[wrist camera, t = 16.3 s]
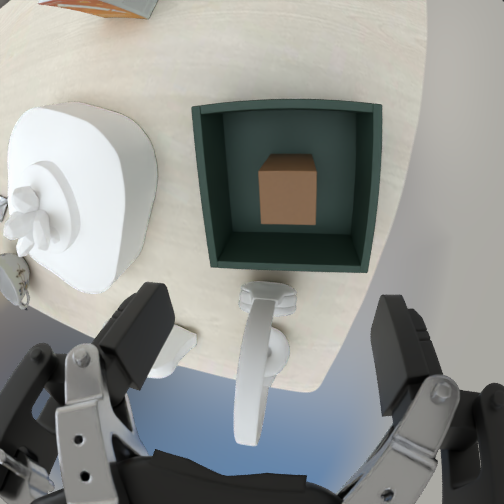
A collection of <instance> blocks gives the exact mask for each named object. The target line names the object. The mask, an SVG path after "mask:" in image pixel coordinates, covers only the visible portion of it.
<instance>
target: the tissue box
mask: <svg viewBox="0 0 504 504" xmlns="http://www.w3.org/2000/svg"><path fill="white" fill-rule="evenodd" d="M157 180H158V170H157V162H156V157H155V153H154V149H153V146H152V144H151V142H150V140H149V138H148V137H147V135H146V134H145V133H144V131H143V130H142V129H141V128H140V127H139V125H138V124H137V123H135V122H134V121H133V120H132V119H130V118H128V117H127V116H125V115H122V114H120V113H117V112H114V111H110V110H107V109H104V108H100V107H97V106H93V105H89V104H86V103H82V102H65V103H58V104H52V105H45V106H40V107H35V108H31V109H29V110H27V111H26V112H25V113H24V114H23V115H22V116H21V117H20V118H19V120H18V122H17V123H16V125H15V127H14V129H13V131H12V134H11V137H10V141H9V146H8V208H9V214H10V217H9V219H8V220H7V221H6V223H5V226H4V234H3V235H4V236H5V237H6V238H8V239H9V240H14V239H19V240H18V243H17V245H16V249H17V253H18V257H22V256H26V255H27V254H29V255H30V256H31V257H32V258H33V259H34V260H35V261H36V262H38V263H39V264H40V265H42V266H43V267H45V268H47V269H48V270H50V271H51V272H53V273H54V274H56V275H57V276H58V277H60V278H61V279H62V280H63V281H65V282H66V283H67V284H69V285H70V286H71V287H73V288H74V289H76V290H78V291H81V292H84V293H89V294H97V293H102V292H104V291H106V290H107V289H108V288H109V287H110V286H111V285H112V284H113V283H114V282H115V281H116V280H117V279H118V277H119V276H120V275H121V274H122V273H123V272H124V271H125V270H126V269H127V268H128V267H129V266H130V265H131V264H132V262H133V261H134V260H135V259H136V258H137V257H138V255H139V254H140V252H141V250H142V247H143V244H144V240H145V235H146V231H147V227H148V222H149V218H150V214H151V210H152V206H153V202H154V198H155V194H156V189H157Z"/></svg>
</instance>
